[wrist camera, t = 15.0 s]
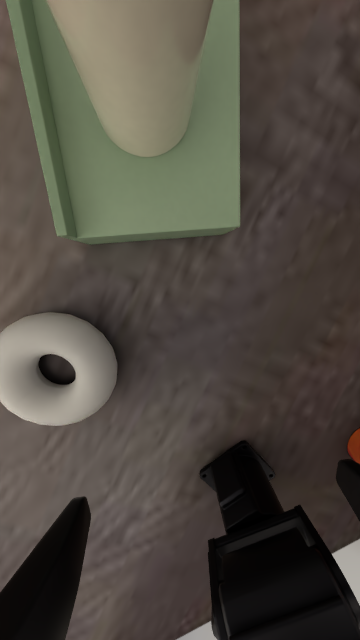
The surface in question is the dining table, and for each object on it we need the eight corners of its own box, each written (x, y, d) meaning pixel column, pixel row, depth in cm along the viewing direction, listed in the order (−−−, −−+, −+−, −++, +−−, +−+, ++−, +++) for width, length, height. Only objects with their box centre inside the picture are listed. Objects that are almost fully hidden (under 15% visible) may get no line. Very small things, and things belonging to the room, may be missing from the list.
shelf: (223, 234, 18) (249, 222, 12) (89, 244, 17) (56, 236, 12) (217, -34, 13) (253, -226, 8) (39, -34, 13) (-48, -243, 8)
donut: (141, 345, 20) (36, 285, 17) (138, 362, 16) (8, 290, 14) (88, 423, 21) (-14, 377, 19) (75, 452, 18) (-50, 402, 16)
